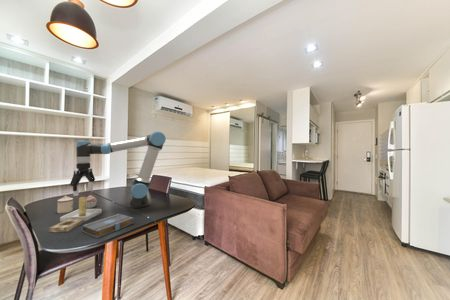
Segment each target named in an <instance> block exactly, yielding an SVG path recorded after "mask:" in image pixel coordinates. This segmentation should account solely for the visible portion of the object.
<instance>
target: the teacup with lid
mask: <svg viewBox="0 0 450 300" xmlns="http://www.w3.org/2000/svg"><path fill="white" fill-rule="evenodd" d="M56 209H57V210H56V211H57V214H65V213H66V214H68V213H71V212H73V211H74V197H70V196H68V195H64V196H63V197H62V198H59V199H57V208H56Z"/></svg>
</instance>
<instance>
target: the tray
mask: <svg viewBox="0 0 450 300" xmlns="http://www.w3.org/2000/svg"><path fill="white" fill-rule="evenodd" d="M102 212H103V209H102V208H89V209H87V208H86V216H79V208H78V209H76V210H72V211H70V212H68V213H66V214H64V215H62V216H60V217H59V223H60V222H62V221H65V220H67V219H83V223H84V222H88V221H90V220H92V219H93V218H95V217H97V216H99V215H101V214H102Z"/></svg>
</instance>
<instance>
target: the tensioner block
mask: <svg viewBox="0 0 450 300" xmlns="http://www.w3.org/2000/svg"><path fill="white" fill-rule="evenodd" d="M81 225H84V222H83V219H67V220H65V221H62V222H60V221H59V222H58V223H56V224H55V225H52V226H50V227H49V228H48V233H69V232H70V231H72V230H74V229H75V228H77V227H79V226H81Z"/></svg>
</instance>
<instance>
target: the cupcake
mask: <svg viewBox="0 0 450 300" xmlns="http://www.w3.org/2000/svg"><path fill="white" fill-rule="evenodd" d="M97 203H98V200H97V198H96V197H95V196H93V195H91V194H90V195H88V196H86V209H95V208H96V204H97Z"/></svg>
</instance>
